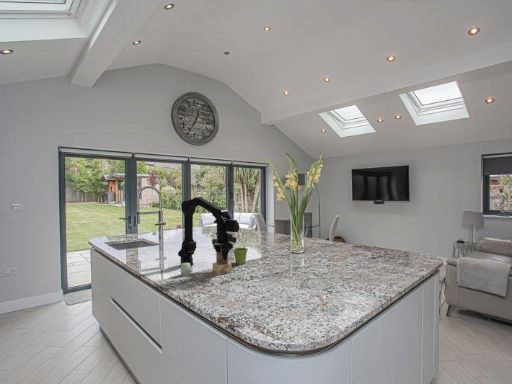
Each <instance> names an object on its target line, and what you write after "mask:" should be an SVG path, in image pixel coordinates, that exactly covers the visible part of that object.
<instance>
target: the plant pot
mask: <svg viewBox="0 0 512 384" xmlns="http://www.w3.org/2000/svg"><path fill="white" fill-rule="evenodd" d="M248 250H249V249H248V248H246V247H236V248H232V251H233V255H234V261H235V264H237V265H242V264H245V263H246V262H247V261H246V260H247V252H248Z"/></svg>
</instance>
